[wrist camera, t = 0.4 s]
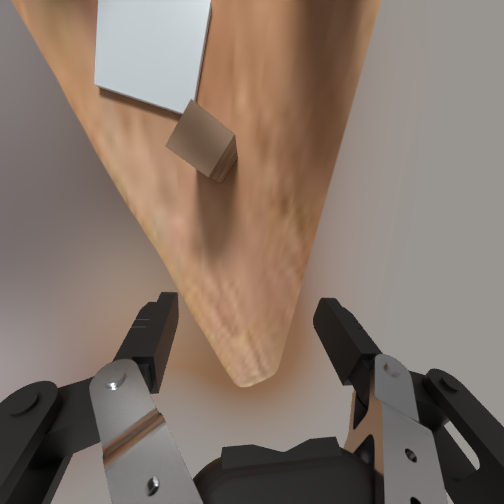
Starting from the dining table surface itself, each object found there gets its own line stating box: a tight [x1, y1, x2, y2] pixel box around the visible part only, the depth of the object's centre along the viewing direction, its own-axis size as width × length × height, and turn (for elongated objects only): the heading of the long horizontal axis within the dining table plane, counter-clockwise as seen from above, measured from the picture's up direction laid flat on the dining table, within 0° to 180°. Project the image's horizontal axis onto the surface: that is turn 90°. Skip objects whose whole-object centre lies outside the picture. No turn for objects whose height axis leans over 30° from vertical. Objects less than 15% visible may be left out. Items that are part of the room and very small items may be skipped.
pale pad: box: [94, 0, 212, 115], centre depth 28 cm, size 14×14×1 cm
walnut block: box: [165, 99, 238, 183], centre depth 26 cm, size 5×5×14 cm
